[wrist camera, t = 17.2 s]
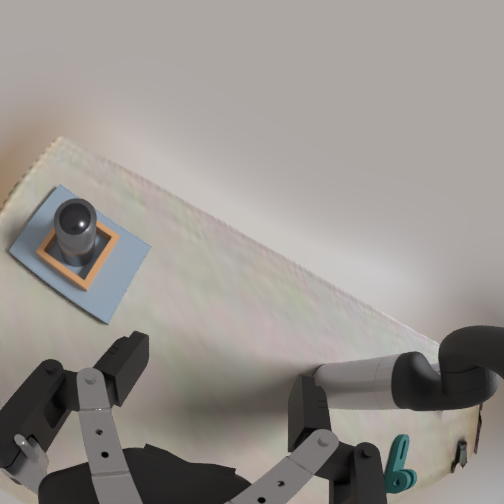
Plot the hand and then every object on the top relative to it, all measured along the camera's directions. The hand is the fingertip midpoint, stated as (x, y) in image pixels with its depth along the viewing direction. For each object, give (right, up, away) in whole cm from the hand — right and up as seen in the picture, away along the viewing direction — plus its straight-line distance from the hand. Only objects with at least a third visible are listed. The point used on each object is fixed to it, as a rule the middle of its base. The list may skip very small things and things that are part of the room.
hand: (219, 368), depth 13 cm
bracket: (+41, -53, +37) cm, 76 cm away
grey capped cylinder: (-22, +6, +19) cm, 30 cm away
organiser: (-23, +6, +20) cm, 31 cm away
